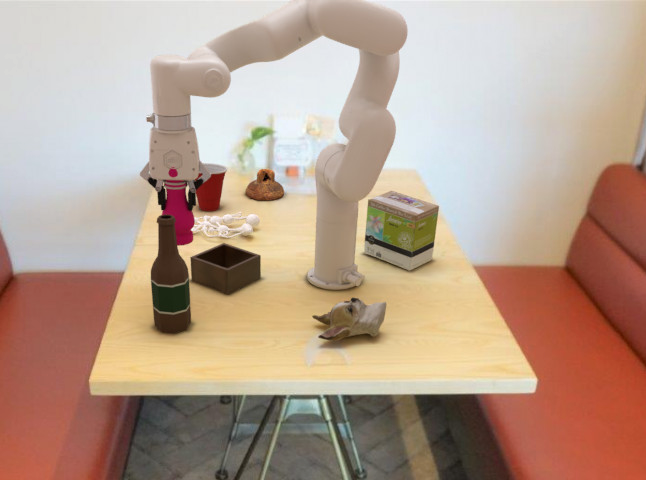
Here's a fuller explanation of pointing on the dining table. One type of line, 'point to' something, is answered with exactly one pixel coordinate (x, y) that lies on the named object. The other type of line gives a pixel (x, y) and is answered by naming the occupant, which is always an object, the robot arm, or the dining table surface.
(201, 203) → the plastic cup
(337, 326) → the ceramic sculpture
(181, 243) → the pepper mill
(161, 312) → the beer bottle
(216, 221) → the tangled rod sculpture
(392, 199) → the tea box
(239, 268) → the box
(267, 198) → the bell
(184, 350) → the dining table surface
